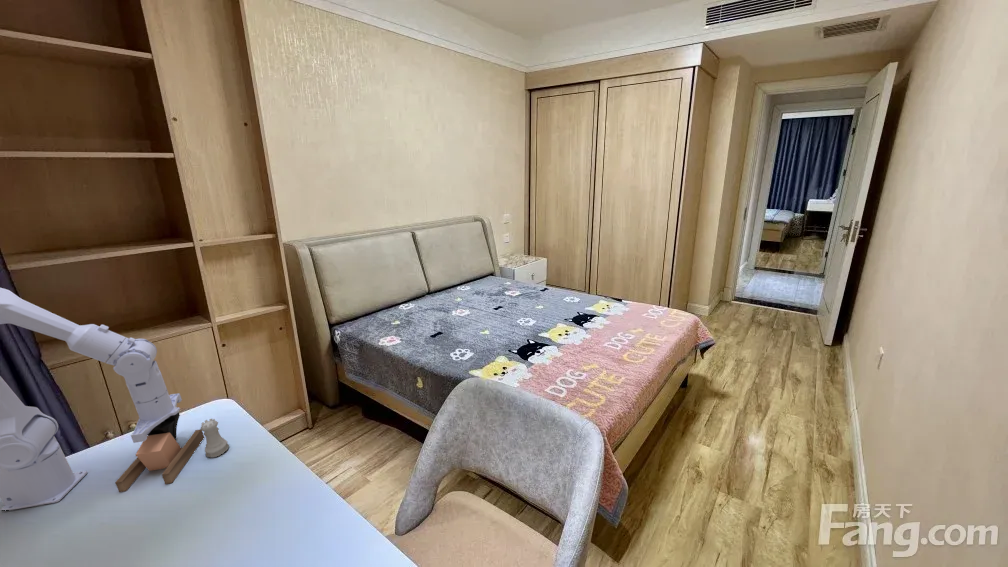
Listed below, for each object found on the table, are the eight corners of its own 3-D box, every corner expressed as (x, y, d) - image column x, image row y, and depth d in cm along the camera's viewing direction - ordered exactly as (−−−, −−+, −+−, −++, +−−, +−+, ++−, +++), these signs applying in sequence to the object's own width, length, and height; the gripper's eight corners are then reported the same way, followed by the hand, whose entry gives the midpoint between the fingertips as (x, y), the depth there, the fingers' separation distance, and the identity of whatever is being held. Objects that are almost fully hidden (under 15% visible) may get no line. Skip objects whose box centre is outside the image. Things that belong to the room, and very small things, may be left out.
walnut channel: (119, 492, 81) (115, 482, 81) (159, 444, 94) (156, 436, 94) (172, 483, 83) (168, 473, 82) (204, 437, 96) (201, 429, 95)
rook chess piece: (220, 458, 89) (210, 428, 87) (201, 458, 90) (190, 429, 87) (233, 444, 94) (224, 415, 91) (215, 444, 94) (205, 415, 91)
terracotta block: (149, 470, 87) (135, 454, 83) (159, 452, 90) (146, 436, 87) (173, 466, 88) (160, 450, 84) (181, 448, 91) (169, 432, 88)
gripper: (151, 412, 80) (172, 467, 85) (188, 374, 94) (205, 423, 98) (110, 418, 79) (133, 473, 84) (154, 379, 92) (172, 428, 97)
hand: (170, 446), depth 91 cm, fingers closed
